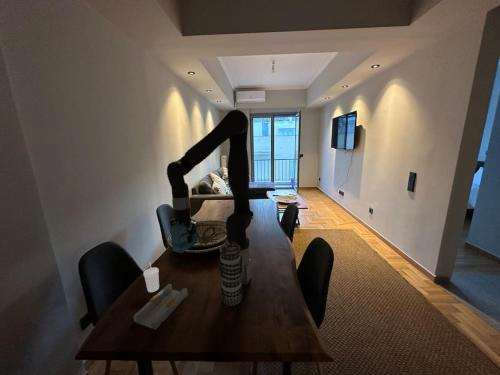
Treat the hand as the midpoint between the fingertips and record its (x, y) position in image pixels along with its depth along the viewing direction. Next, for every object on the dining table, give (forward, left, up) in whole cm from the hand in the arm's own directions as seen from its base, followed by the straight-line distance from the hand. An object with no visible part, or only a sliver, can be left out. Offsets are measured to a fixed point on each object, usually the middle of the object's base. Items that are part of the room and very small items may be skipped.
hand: (185, 241), depth 94 cm
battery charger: (+6, -88, -20) cm, 90 cm away
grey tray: (-2, +19, -19) cm, 27 cm away
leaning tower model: (-26, +6, -20) cm, 33 cm away
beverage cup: (+10, +11, -20) cm, 25 cm away
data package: (0, 0, -3) cm, 3 cm away
